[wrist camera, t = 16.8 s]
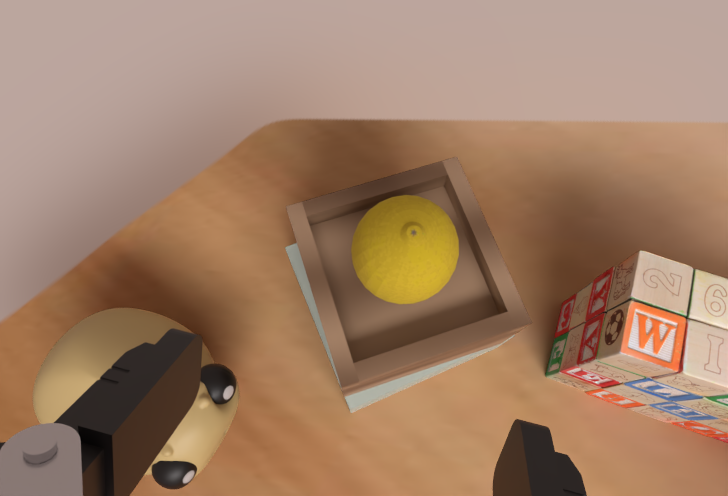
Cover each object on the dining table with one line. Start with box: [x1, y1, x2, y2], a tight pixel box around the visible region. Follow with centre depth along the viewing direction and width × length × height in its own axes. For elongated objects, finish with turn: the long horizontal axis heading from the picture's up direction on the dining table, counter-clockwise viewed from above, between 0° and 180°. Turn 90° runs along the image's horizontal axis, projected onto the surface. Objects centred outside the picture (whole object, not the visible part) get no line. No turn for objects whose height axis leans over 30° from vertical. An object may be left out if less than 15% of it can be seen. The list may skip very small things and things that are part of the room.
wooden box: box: [286, 157, 532, 397], centre depth 32 cm, size 11×11×6 cm
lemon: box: [351, 195, 459, 304], centre depth 27 cm, size 6×6×8 cm
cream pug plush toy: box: [33, 308, 239, 489], centre depth 32 cm, size 10×12×11 cm
